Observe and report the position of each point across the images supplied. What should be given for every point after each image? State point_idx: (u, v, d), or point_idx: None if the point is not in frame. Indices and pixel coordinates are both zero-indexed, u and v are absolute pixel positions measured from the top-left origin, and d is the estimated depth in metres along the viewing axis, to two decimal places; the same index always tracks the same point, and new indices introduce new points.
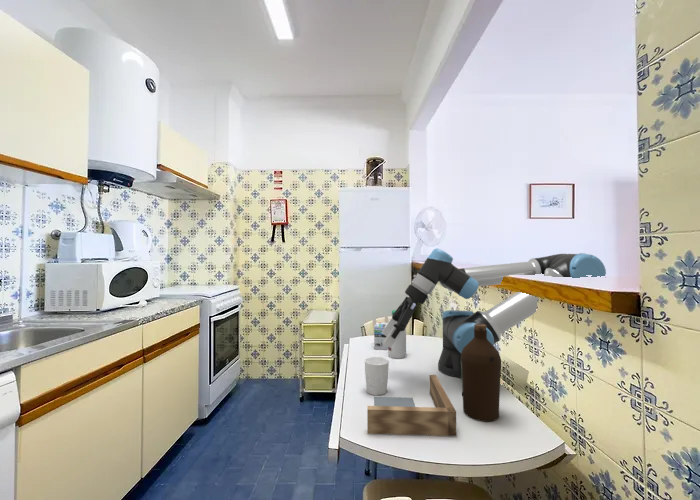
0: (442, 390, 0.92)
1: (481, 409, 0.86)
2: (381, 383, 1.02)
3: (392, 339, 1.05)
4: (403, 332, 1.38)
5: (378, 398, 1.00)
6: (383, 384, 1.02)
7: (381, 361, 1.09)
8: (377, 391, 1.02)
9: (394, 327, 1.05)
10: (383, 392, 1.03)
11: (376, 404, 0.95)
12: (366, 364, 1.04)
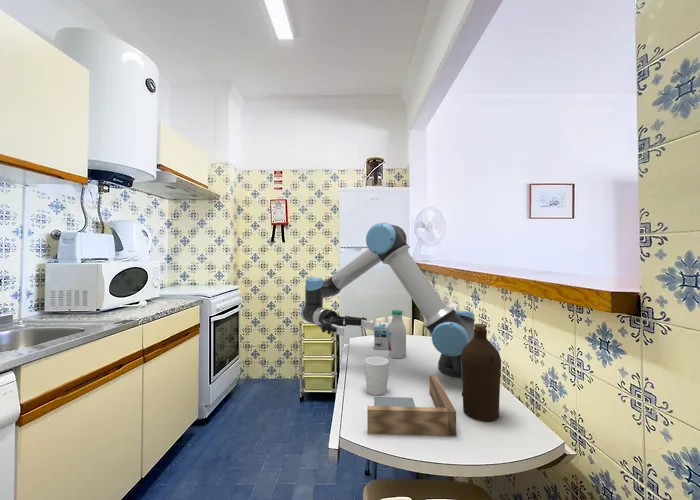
0: (442, 390, 0.92)
1: (481, 409, 0.86)
2: (381, 383, 1.02)
3: (337, 329, 1.11)
4: (403, 332, 1.38)
5: (378, 398, 1.00)
6: (383, 384, 1.02)
7: (381, 361, 1.09)
8: (377, 391, 1.02)
9: (331, 331, 1.14)
10: (383, 392, 1.03)
11: (376, 404, 0.95)
12: (366, 364, 1.04)
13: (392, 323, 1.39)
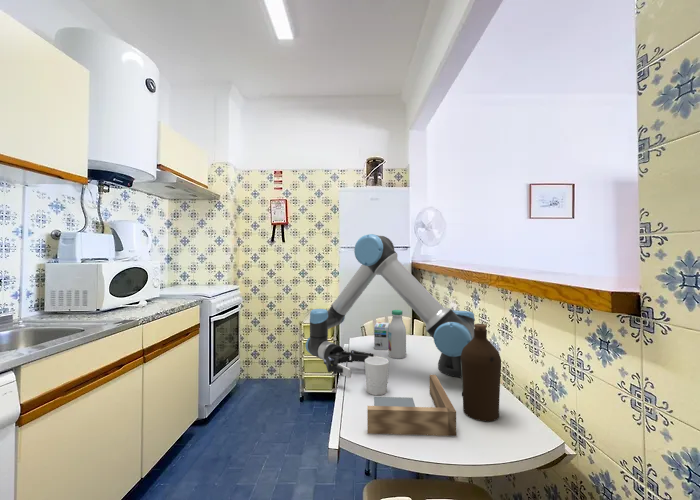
0: (442, 390, 0.92)
1: (481, 409, 0.86)
2: (381, 383, 1.02)
3: (344, 370, 1.07)
4: (403, 332, 1.38)
5: (378, 398, 1.00)
6: (383, 384, 1.02)
7: (381, 361, 1.09)
8: (377, 391, 1.02)
9: (337, 371, 1.10)
10: (383, 392, 1.03)
11: (376, 404, 0.95)
12: (366, 364, 1.04)
13: (392, 323, 1.39)
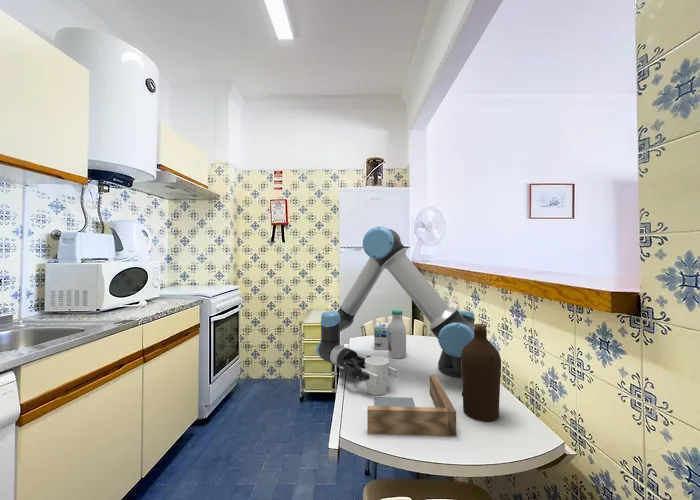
0: (442, 390, 0.92)
1: (481, 409, 0.86)
2: (381, 383, 1.02)
3: (370, 376, 1.01)
4: (403, 332, 1.38)
5: (378, 398, 1.00)
6: (383, 384, 1.02)
7: (381, 361, 1.09)
8: (377, 391, 1.02)
9: None
10: (383, 392, 1.03)
11: (376, 404, 0.95)
12: (366, 364, 1.04)
13: (392, 323, 1.39)
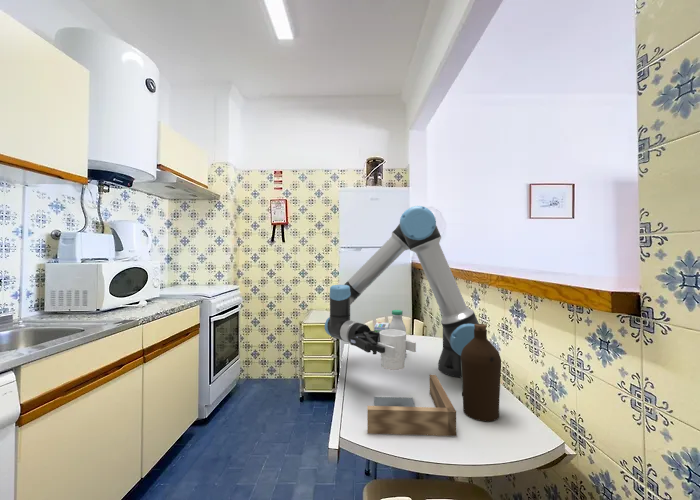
0: (442, 390, 0.92)
1: (481, 409, 0.86)
2: (398, 357, 0.91)
3: (386, 349, 0.90)
4: None
5: (378, 398, 1.00)
6: (400, 358, 0.92)
7: (397, 334, 0.98)
8: (394, 366, 0.91)
9: (378, 351, 0.93)
10: (400, 367, 0.92)
11: (376, 404, 0.95)
12: (381, 336, 0.93)
13: (392, 323, 1.39)
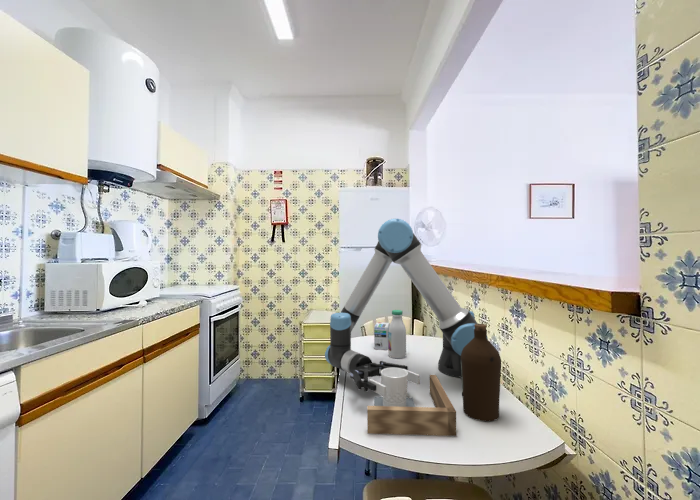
0: (442, 390, 0.92)
1: (481, 409, 0.86)
2: (400, 398, 0.91)
3: (377, 387, 0.89)
4: (403, 332, 1.38)
5: (378, 398, 1.00)
6: (402, 399, 0.91)
7: (398, 372, 0.97)
8: None
9: None
10: None
11: (376, 404, 0.95)
12: (383, 376, 0.92)
13: (392, 323, 1.39)
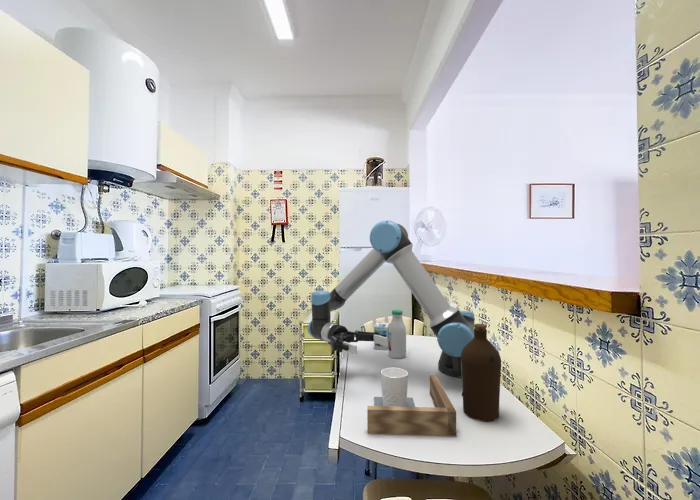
0: (442, 390, 0.92)
1: (481, 409, 0.86)
2: (400, 398, 0.91)
3: (350, 347, 1.03)
4: (403, 332, 1.38)
5: (378, 398, 1.00)
6: (402, 399, 0.91)
7: (399, 372, 0.97)
8: None
9: (343, 349, 1.06)
10: None
11: (376, 404, 0.95)
12: (383, 376, 0.92)
13: (392, 323, 1.39)
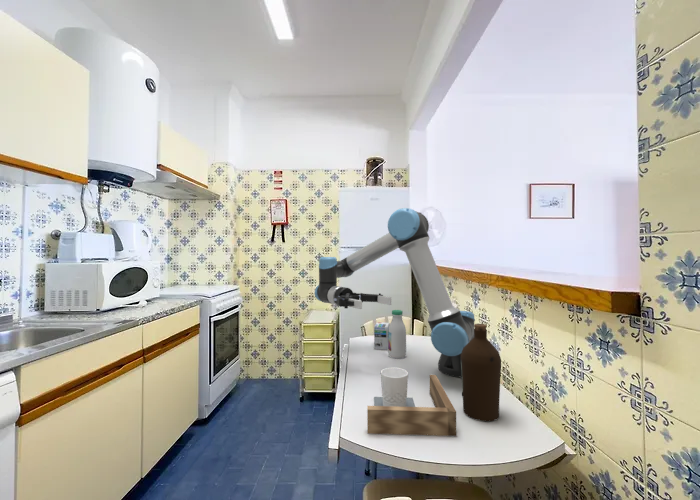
0: (442, 390, 0.92)
1: (481, 409, 0.86)
2: (400, 398, 0.91)
3: (355, 302, 1.09)
4: (403, 332, 1.38)
5: (378, 398, 1.00)
6: (402, 399, 0.91)
7: (398, 372, 0.97)
8: None
9: None
10: None
11: (376, 404, 0.95)
12: (383, 376, 0.92)
13: (392, 323, 1.39)
